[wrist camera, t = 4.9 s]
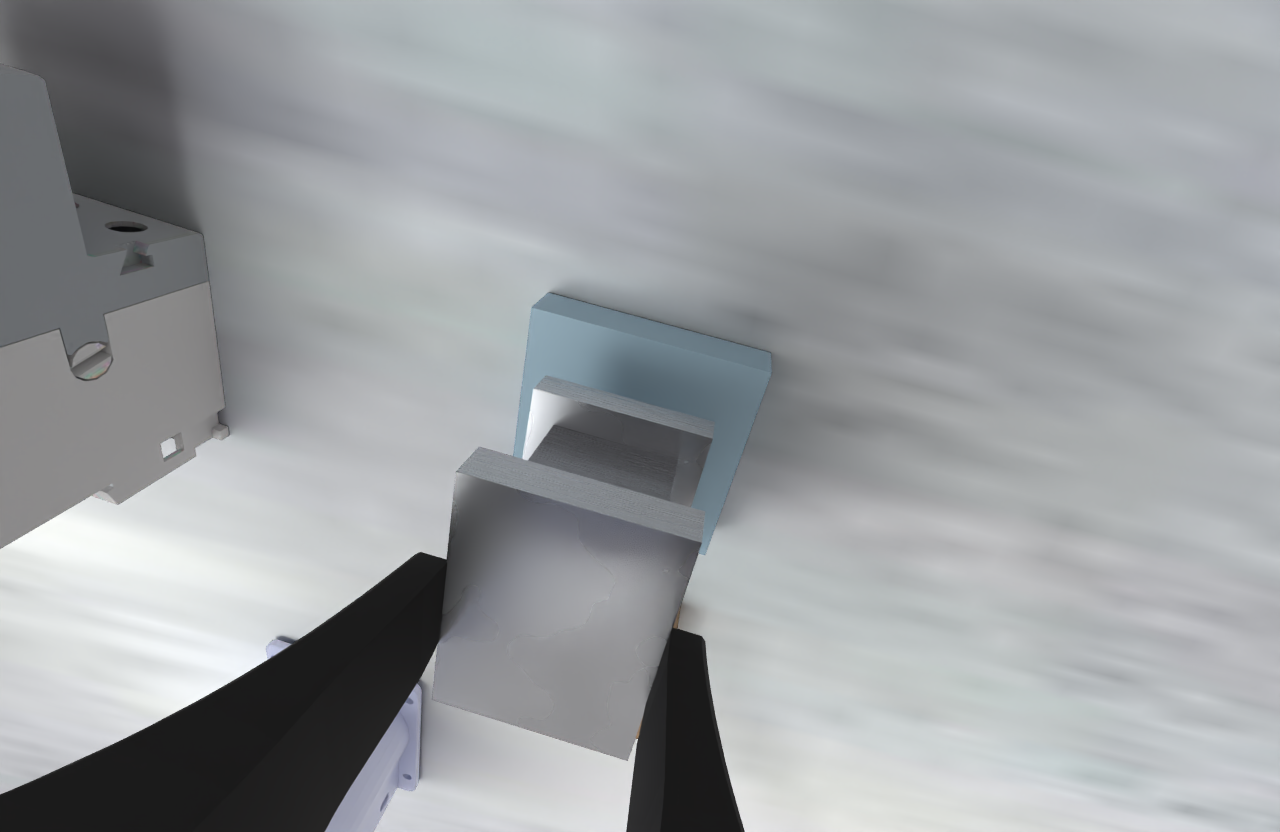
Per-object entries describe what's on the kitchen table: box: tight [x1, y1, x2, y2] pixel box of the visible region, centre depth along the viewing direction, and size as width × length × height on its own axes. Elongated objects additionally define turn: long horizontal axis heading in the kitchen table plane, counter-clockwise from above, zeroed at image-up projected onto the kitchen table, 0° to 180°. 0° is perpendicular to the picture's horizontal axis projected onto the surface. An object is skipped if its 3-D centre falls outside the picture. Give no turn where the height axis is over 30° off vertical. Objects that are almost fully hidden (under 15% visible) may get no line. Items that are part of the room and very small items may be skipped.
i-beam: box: [432, 375, 715, 761], centre depth 14 cm, size 4×6×5 cm
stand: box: [513, 293, 772, 555], centre depth 19 cm, size 7×7×2 cm
